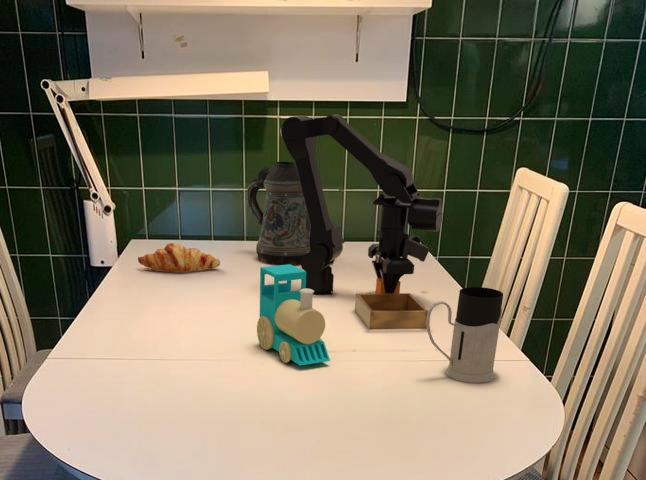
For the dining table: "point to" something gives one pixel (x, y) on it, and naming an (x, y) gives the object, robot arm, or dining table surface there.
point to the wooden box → (391, 311)
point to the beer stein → (280, 215)
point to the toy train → (290, 318)
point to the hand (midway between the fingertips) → (386, 296)
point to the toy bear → (381, 287)
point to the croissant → (178, 259)
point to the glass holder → (473, 334)
